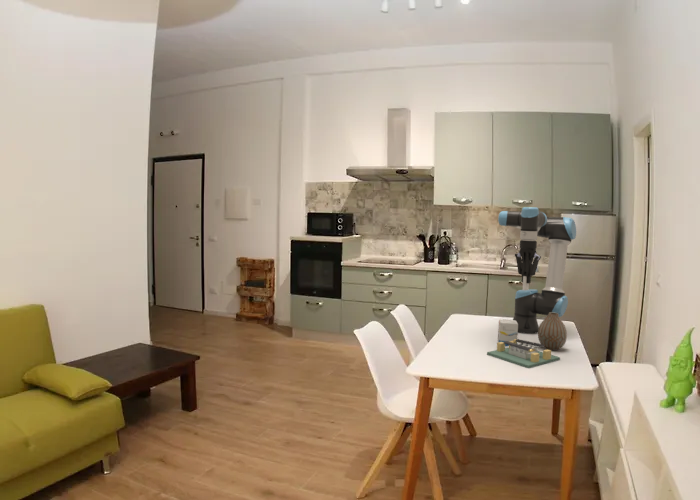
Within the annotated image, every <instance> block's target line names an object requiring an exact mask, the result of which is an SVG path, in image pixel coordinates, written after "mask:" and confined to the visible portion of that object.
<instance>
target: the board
mask: <svg viewBox="0 0 700 500" xmlns="http://www.w3.org/2000/svg"><path fill="white" fill-rule="evenodd" d="M509 342H512V343H515V344H518V345H522V346H525V347H528V348H531V349H535V351H532V352H529V351H526V350H523V349H520V348H517V347H513V346H510V345H509V346H507V347H506V346H505V344H504V342H498V341H497V342H496V344H497V345H496V349H494V350H491V351H490V350H489V351H487V352H486V355H487V356H489V357H493V358H495V359H498V360H503V361H505V362H508V363H510V364H514V365H517V366H519V367H523V368H526V369H531V368H534V367H538V366H541V365H546V364H549V363H553V362H557V361H560V360H561V356H556V355H553V354H552V350H548V349H544V350H542V351H540V350H538V346H533V345H528V344H524V343H518V342H513V341H509Z"/></svg>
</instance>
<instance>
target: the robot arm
mask: <svg viewBox="0 0 700 500" xmlns="http://www.w3.org/2000/svg"><path fill="white" fill-rule="evenodd" d="M497 221H498V224H499V225H500V226H501V227H511V228H515V229H518V230H520V234H519V235H520V236H519V237H520V238H519V239H520V240H519V251H518V252H517V253H514V257H515V260H516V266H517V272H518V275H521V283H522V289H519V290H516V292H515V297H514V316H513V318H512V320H516V322H517V323H518V333H519V334H526V335H529V334H532V335H533V334H538V329H539V326H540V325H539V324H538V319H537V315H541V316H546V317H547V316H548V314H549V312H554V313H558V315H559V318H561V317H563V316H564V315H565V313H566V311H567V308H568V305H569V297H568V296H567V295H566V292H565V290H564V289H563V286H564V278H565V271H566V263H567V262H566V261H567V254H568V248H569V247H568V246H569V245H570V244H572V240H575V239H576V236H577V226H576V222H575V219H573V218H571V217H565V216H547V215H546V213H545V212H543V211H540V210H539V208H538V207H536V206H535V207H534V206H531V207H527V206H524V207H522V208H521V210H520V211H517V210H516V211H514V210H513V211H512V210H502V211H500V212H499V214H498V217H497ZM538 237H539V238H543V239H545V238H547V241H548V242H549V244H550V247H549V253H548V254H549V255H548V262H547V270H546V271H547V273H546V280H545V285H544V288H542V289H541V292H539V290H538V289H535V288H533V289H532V288H530V284H531V282H532V281H531V280H532V279H531V278H532V276H533V277H534V276H535V275H536V272H537V268H538V265H539V261H540V260H541V259H542V256H540V255H539V254H537V245H538V241H537V240H538Z"/></svg>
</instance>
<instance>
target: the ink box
mask: <svg viewBox="0 0 700 500" xmlns="http://www.w3.org/2000/svg"><path fill="white" fill-rule="evenodd" d="M497 332H498V333H497V343H498V342H505V341H513V340H515V339H518V333H519V332H518V323H517V322H516V320H513V319H503V318H502V319H501V318H500V319H498V331H497ZM505 347H509V345H507V344H505Z"/></svg>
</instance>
